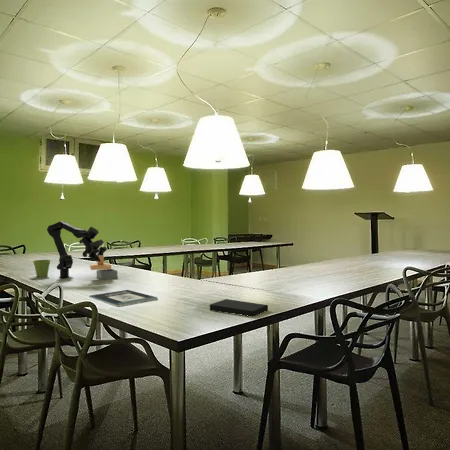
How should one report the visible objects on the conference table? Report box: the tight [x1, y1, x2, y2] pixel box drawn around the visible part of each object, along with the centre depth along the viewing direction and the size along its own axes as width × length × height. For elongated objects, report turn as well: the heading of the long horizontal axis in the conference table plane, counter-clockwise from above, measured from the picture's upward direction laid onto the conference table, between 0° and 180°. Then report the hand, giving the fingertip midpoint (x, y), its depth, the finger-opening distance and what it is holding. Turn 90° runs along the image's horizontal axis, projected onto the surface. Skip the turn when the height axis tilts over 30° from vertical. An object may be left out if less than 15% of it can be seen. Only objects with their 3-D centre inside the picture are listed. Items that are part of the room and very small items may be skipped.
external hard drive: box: [209, 298, 269, 317], centre depth 181 cm, size 14×23×3 cm, turn 57°
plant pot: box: [32, 259, 52, 278], centre depth 281 cm, size 12×12×11 cm
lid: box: [89, 254, 112, 271], centre depth 262 cm, size 13×13×8 cm
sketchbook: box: [89, 289, 158, 307], centre depth 207 cm, size 23×32×2 cm
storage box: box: [96, 268, 118, 281], centre depth 269 cm, size 11×11×6 cm
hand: (102, 260), depth 262 cm, fingers closed on lid, 4 cm apart
